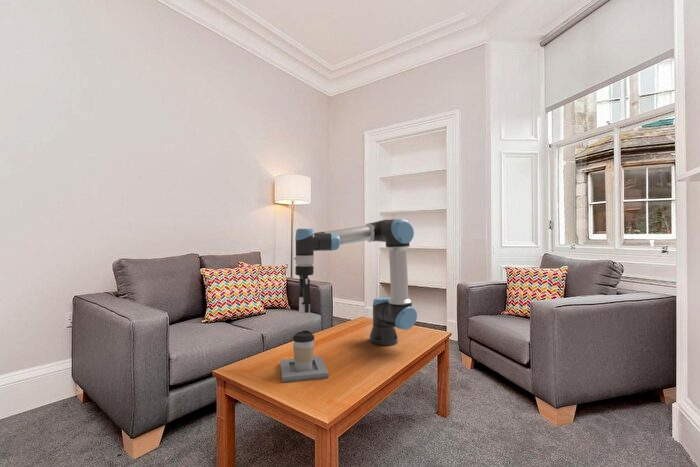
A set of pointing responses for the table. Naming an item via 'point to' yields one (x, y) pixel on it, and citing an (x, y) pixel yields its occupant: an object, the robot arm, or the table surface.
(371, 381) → the table surface
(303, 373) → the frame
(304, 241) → the robot arm
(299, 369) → the coffee cup
